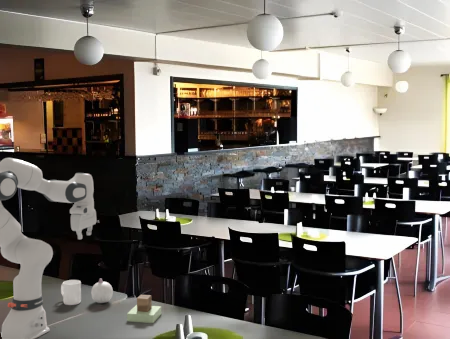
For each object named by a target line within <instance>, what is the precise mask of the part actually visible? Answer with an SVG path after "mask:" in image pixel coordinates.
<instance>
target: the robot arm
mask: <svg viewBox="0 0 450 339" xmlns="http://www.w3.org/2000/svg"><path fill="white" fill-rule="evenodd" d="M18 189H22V190H26V191H35V192H37V193H40V194H41V195H43V197H45V199H47V200H48V201H49V202H52V203H53V202H55V203H57V202H58V203H67V204H72V207H71V208H70V209H69V214H71V215H70V228H71V230H72V231H73V232H76V235H77V240H82V239H83V236H84V235H83V233H82V231H83V230H84V229H87V231H86V236H91V235H92V230H93V226H94V225H96V223H97V219H98V218H97V211H96V209H95V201H94V200H95V199H94V192H95V191H94V190H95V189H94V179H93V176H92V174H90V173H84V172H76V173H75V174H74V176H73V177H72V178H70V179H69V180H59V179H58V180H57V179H50V180H48V179H45V178H44V177H43V171H42V169H40V168H39V167H38V166H37V165H35V164H32V163H30V162H28V161H24V160H22V159H18V158H13V157H5V158H3V159H2V160H0V254H1V256H2V257H3V258H4V259H6V260H7V261H9V262H11V263H15V264H20V268H19V272H18V275H16V276H15V277H14V278H13V281H12V283H13V284H12V287H13V288H12V289H13V297H12V299H11V301H9V302H8V303H7V307H8V308H10V310H9V312H8V314H7V316H6V317H5V319H4V321H3V323H2V325H1V332H0V333H1V337H2V339H37V338H38V337H41V336H42V335H45V334H46V333H48V332H50V327H49V326H48V323H47V322H48V321H47V312H46V310H45V309H44V307H43V304H44V296H43V294H42V280H43V274H44V270H45V268H46V267H47V266H48V265H49V263H51V261H52V258H53V255H54V251H53V247H52V246H51V245H50V244H49V243H47V242H45V241H43V240H41V239H37V238H36V239H35V238H31V237H28V236H26V235H24V234H23V233H22V226H21V224H20V222H18V221H17V219H16V218H15V217H14V216H13V215H12V214H11V213H10V212H9V210H7V208H5V207H4V205H3V203H2V201H6V200H9V199H11V198H13V197H14V195H15V194H16V192H17V190H18ZM73 203H74V204H73Z"/></svg>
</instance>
